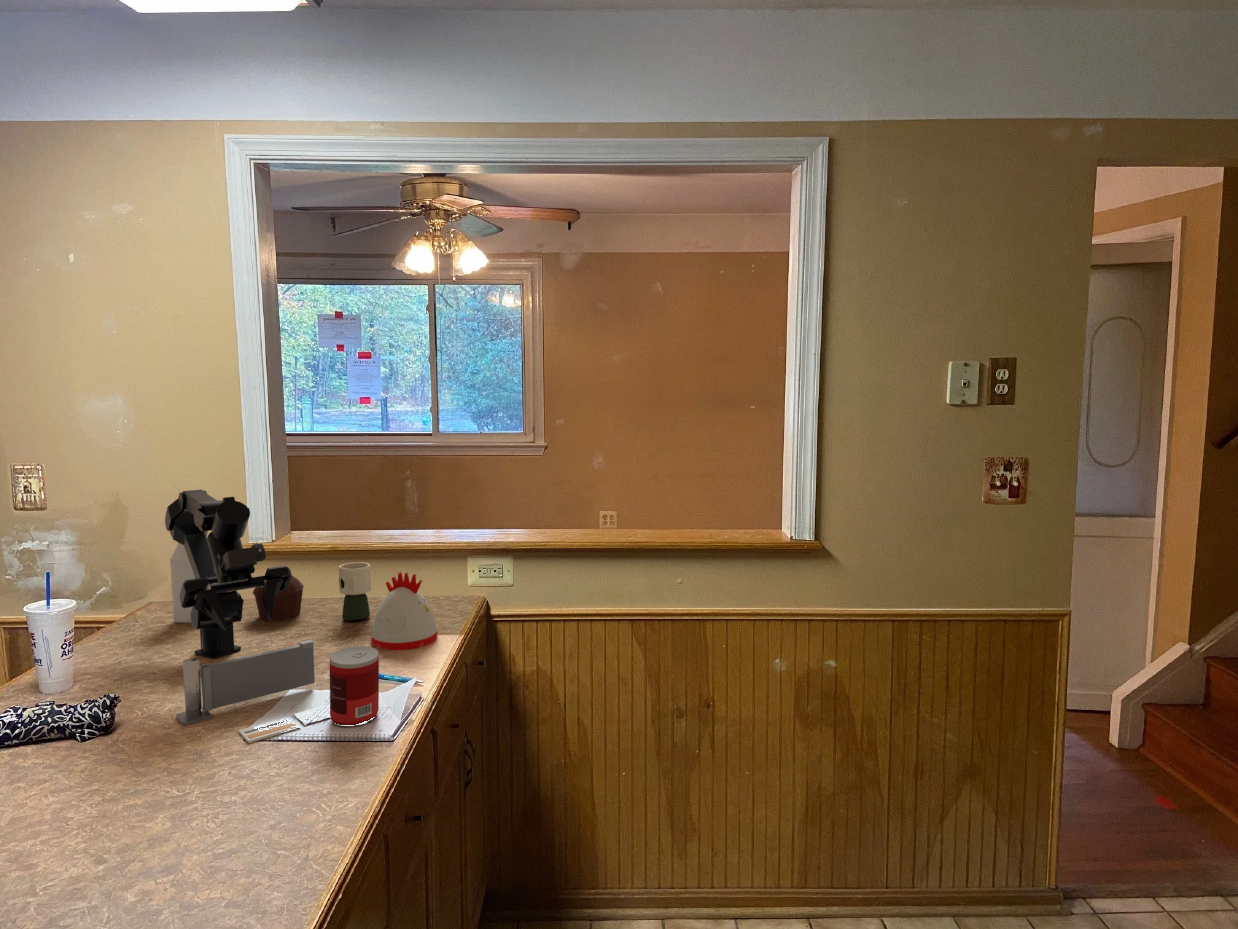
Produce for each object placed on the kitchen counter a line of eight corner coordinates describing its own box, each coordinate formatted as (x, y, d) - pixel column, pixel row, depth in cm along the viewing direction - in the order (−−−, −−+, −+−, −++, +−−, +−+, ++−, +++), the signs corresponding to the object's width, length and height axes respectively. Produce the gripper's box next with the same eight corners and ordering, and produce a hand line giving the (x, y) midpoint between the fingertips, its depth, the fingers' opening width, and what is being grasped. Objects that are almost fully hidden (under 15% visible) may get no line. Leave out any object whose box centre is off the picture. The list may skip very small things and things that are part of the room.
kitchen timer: (419, 652, 163) (417, 582, 161) (359, 647, 166) (357, 578, 164) (447, 631, 176) (445, 566, 175) (391, 627, 179) (389, 563, 178)
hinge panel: (205, 711, 131) (203, 666, 130) (202, 708, 133) (200, 663, 132) (315, 683, 143) (313, 642, 143) (311, 680, 145) (310, 639, 144)
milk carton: (203, 623, 181) (199, 543, 179) (173, 623, 181) (168, 542, 179) (219, 614, 188) (215, 536, 186) (190, 613, 188) (186, 536, 186)
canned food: (385, 707, 135) (386, 647, 133) (366, 730, 127) (366, 666, 125) (343, 703, 136) (343, 643, 134) (321, 725, 128) (321, 662, 126)
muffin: (258, 610, 191) (256, 570, 190) (306, 606, 194) (305, 567, 193) (250, 625, 180) (248, 583, 179) (302, 621, 183) (300, 579, 182)
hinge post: (182, 726, 128) (179, 667, 127) (176, 717, 131) (172, 660, 130) (212, 718, 131) (209, 661, 130) (204, 710, 134) (201, 654, 133)
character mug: (341, 613, 189) (339, 561, 188) (372, 611, 191) (370, 559, 190) (338, 627, 179) (337, 572, 177) (371, 624, 181) (369, 570, 179)
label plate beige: (289, 718, 131) (289, 715, 131) (300, 728, 127) (300, 725, 127) (238, 732, 126) (238, 729, 126) (248, 743, 122) (248, 740, 122)
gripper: (179, 537, 140) (199, 611, 133) (286, 524, 152) (309, 591, 145) (172, 571, 147) (190, 643, 140) (274, 557, 159) (296, 622, 152)
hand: (248, 624), depth 144 cm, fingers open, 8 cm apart
